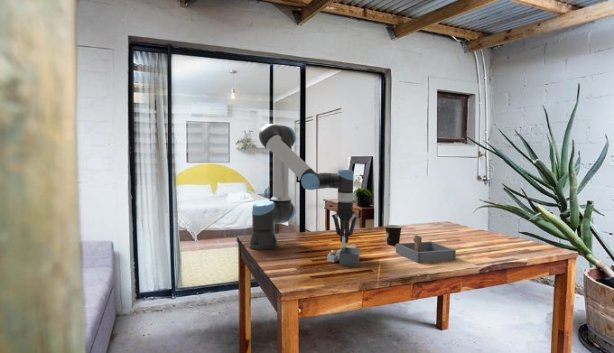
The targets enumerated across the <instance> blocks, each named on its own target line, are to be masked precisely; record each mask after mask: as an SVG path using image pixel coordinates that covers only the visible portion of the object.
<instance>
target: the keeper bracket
mask: <svg viewBox="0 0 614 353" xmlns="http://www.w3.org/2000/svg"><path fill="white" fill-rule="evenodd" d="M341 249H342V250H341V252H340V260H339V266H345V267H357V268H358V267H359V266H360V256H361V255H360V254H361V248H360V247H356V248H346V247H343V248H342V247H341ZM330 253H331V254H337V250H335V249H331V250H330Z"/></svg>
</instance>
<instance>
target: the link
mask: <svg viewBox="0 0 614 353" xmlns="http://www.w3.org/2000/svg"><path fill="white" fill-rule="evenodd" d="M346 248H357V246H356V245H347V246H346ZM341 250H342V248H340V249H337V250H336V251H337V254H331V252H329V253H328V254H327V257H326V258H327V259H326V260H327V261H326V262H329V263H334V264H335V263H338V262H340V252H341Z"/></svg>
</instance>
